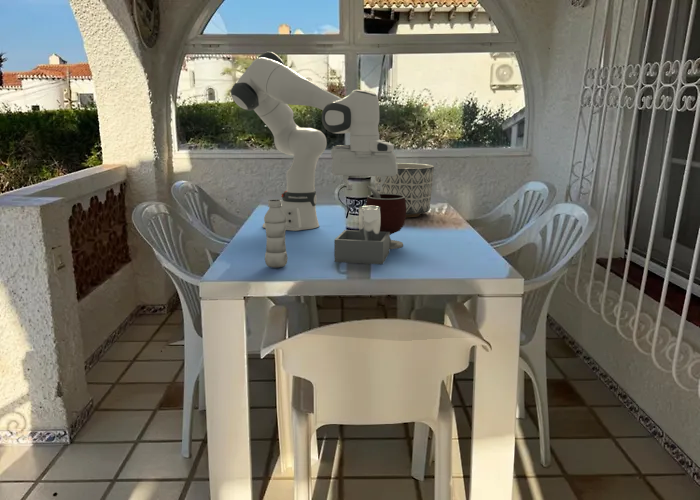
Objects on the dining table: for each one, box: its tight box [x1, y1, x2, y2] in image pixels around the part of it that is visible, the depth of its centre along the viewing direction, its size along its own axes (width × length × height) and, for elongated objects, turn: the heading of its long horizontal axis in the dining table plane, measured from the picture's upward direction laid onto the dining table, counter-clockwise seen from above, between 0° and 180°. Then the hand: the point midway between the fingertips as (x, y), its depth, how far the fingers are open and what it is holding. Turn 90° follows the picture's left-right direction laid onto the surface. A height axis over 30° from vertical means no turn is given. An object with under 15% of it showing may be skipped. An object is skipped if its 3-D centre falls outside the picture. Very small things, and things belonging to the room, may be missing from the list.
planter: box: [374, 162, 435, 219], centre depth 258 cm, size 26×26×22 cm
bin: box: [333, 229, 391, 265], centre depth 184 cm, size 15×15×7 cm
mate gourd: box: [365, 185, 407, 250], centre depth 199 cm, size 16×14×20 cm
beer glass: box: [358, 205, 381, 241], centre depth 182 cm, size 7×7×15 cm
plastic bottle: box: [263, 198, 289, 269], centre depth 170 cm, size 6×7×20 cm
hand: (364, 190), depth 180 cm, fingers open, 8 cm apart
